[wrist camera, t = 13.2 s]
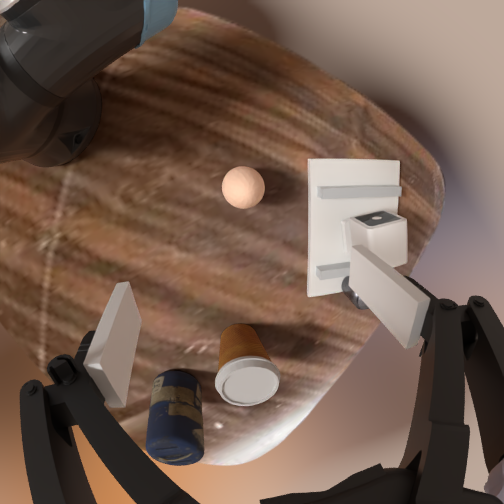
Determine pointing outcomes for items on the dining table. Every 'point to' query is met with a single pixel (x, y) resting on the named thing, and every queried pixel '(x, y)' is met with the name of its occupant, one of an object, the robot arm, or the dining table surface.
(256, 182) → the egg
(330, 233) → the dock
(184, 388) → the canister
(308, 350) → the dining table surface
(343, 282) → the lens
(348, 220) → the white rounded plastic box
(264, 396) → the disposable coffee cup
